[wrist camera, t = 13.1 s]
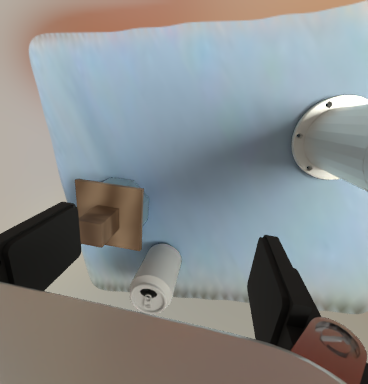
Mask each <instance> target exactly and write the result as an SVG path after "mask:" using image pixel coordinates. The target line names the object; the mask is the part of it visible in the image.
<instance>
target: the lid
mask: <svg viewBox="0 0 368 384" xmlns="http://www.w3.org/2000/svg"><path fill="white" fill-rule="evenodd" d="M75 187H76V199H77V208H78V215H79V228H80V240H81V244H86V245H91V246H96V247H103V246H104V245H109V246H115V247H120V248H125V249H131V250H136V251H141V249H142V223H143V195H144V189H143V188H136V187H130V186H123V185H116V184H109V183H103V182H96V181H89V180H83V179H76V180H75Z"/></svg>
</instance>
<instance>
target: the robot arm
mask: <svg viewBox="0 0 368 384" xmlns="http://www.w3.org/2000/svg"><path fill="white" fill-rule="evenodd" d="M326 103H327V104H328V105H327V107H326ZM297 134H299V137H297ZM291 148H292V154H293V157H294V160H295V161H296V163H297V165H298V166H299V167H300V168H301V169H302V170H303V171H305V172H306V173H307V174H309V175H311V176H313V177H316V178H319V179H325V180H337V179H342V180H344V181H346V182H349V183H351V184H353V185H355V186H357V187H359V188H361V189H363V190H365V191H367V192H368V99H366V98H364V97H362V96H357V95H340V96H335V97H331V98H328V99H325V100H323V101H321V102H319V103H317V104H316V105H314V106H313V107H312V108H310V109H309V110H308V111H307V112H306V113H305V114H304V115H303V116H302V118H301V119H300V120H299V122H298V124H297V126H296V127H295V129H294V133H293V136H292V142H291ZM307 166H309V167H308V168H307ZM306 168H307V169H306ZM80 254H81V240H80V228H79V215H78V208H77V207H76V206H75V204H73V203H67V202H60V203H58V204H57V205H55V206H53V207H51V208H49V209H47V210H45V211H43V212H41V213H40V214H37V215H35V216H34V217H32V218H30V219H28V220H26V221H24V222H22V223H20V224H18V225H16V226H14V227H12V228H11V229H9V230H7V231H5V232H3V233H1V234H0V384H368V363H366V361H367V352H366V350H365V347H364V346H363V344H362V343H361V341H360V340H359V338H358V337H357V336H355V334H354V333H353V332H351V331H350V330H349V329H348V328H346V327H345V326H344V325H342V324H340V323H338V322H336V321H334V320H331V319H329V318H324V317H321V315H320V313H319V311H318V309H317V307H316V305H315V304H314V302H313V300H312V298H311V296H310V294H309V292H308V290H307V288H306V286H305V284H304V282H303V280H302V278H301V276H300V275H299V273H298V271H297V270H296V269H295V268H293V267H292V265H291V263H290V261H289V259H288V257H287V255H286V253H285V251H284V249H283V247H282V245H281V243H280V241H279V239H278V237H274V236H268V235H264V237H263V238H262V237H260V238H259V240H258V244H257V248H256V252H255V256H254V260H253V264H252V268H251V272H250V276H249V280H248V285H247V289H248V296H249V302H250V308H251V314H252V320H253V326H254V332H255V338H256V340H255V339H251V338H248V337H244V336H240V335H237V334H233V333H229V332H224V331H220V330H216V329H211V328H207V327H203V326H198V325H194V324H190V323H185V322H181V321H177V320H172V319H168V318H163V317H159V316H155V315H150V314H146V313H141V312H136V311H132V310H128V309H123V308H119V307H114V306H110V305H105V304H101V303H96V302H92V301H87V300H82V299H78V298H73V297H68V296H64V295H60V294H55V293H50V292H45V291H44V290H45V289H46V288H47V287H48V286H49V285H50V284H51V283H52V282H53V281H54V280H55V279H57V277H59V276H60V275H61V274H62V273H63V272H64V271H65V270H66V269H67V268H68V267H69V266H70V265H71V264H72V263H73V262H74V261H75V260H76V259H77V258H78V257H79V256H80Z"/></svg>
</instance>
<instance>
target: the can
mask: <svg viewBox="0 0 368 384" xmlns="http://www.w3.org/2000/svg"><path fill="white" fill-rule="evenodd" d="M181 262H182V260H181V256H180V254H179V252H178V251H177V250H176V249H175V248H174V247H172V246H170V245H167V244H157V245H154V246H153V247H151V248H150V249H149V251H148V253H147V255H146V256H145V258H144V260H143V262H142V264H141V266H140V268H139V269H138V271H137V273H136V275H135V277H134V279H133V281H132V282H131V284H130V300H131V302H132V304H133V306H134V307H135V308H136V309H137V310H139V311H141V312H142V313H146V314H152V315H154V314H158V313H160V312H162V311H163V310H164V309H165V307H167V306H168V305H169V304H170V302H171V300H172V296H173V292H174V289H175V285H176V281H177V277H178V274H179V270H180V266H181Z"/></svg>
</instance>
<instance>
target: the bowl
mask: <svg viewBox="0 0 368 384" xmlns="http://www.w3.org/2000/svg"><path fill="white" fill-rule="evenodd" d="M103 183H109V184H116V185H123V186H130V187H136V188H140V187H139V186H138V185H137V184H136V183H135V182H134V180H127V179H120V178H113V177H111V178H109V179H107V180H105V181H103ZM148 208H149V198H148V197H147V195H146V194H145V193H144V195H143V223H142V227H143V225H144V224H145V223H146V221H147V220H148Z"/></svg>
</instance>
